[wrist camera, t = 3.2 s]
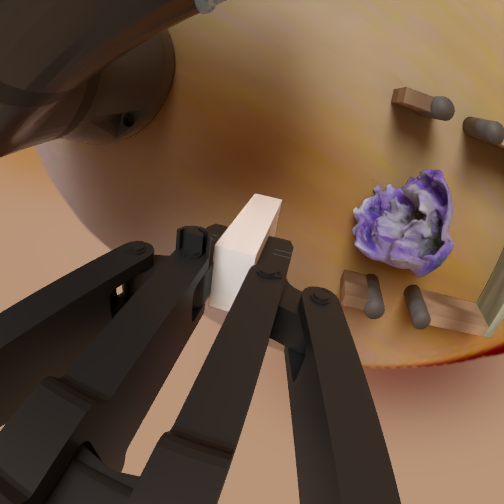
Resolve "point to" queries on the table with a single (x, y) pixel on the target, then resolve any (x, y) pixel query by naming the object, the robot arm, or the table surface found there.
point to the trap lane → (418, 300)
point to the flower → (407, 224)
